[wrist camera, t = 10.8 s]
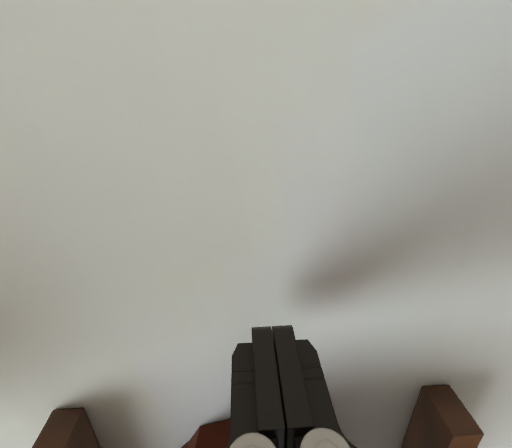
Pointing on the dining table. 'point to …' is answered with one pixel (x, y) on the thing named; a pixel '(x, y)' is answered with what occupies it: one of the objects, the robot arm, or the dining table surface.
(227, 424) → the muffin
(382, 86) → the dining table surface
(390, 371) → the dining table surface
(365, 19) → the dining table surface
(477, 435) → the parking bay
